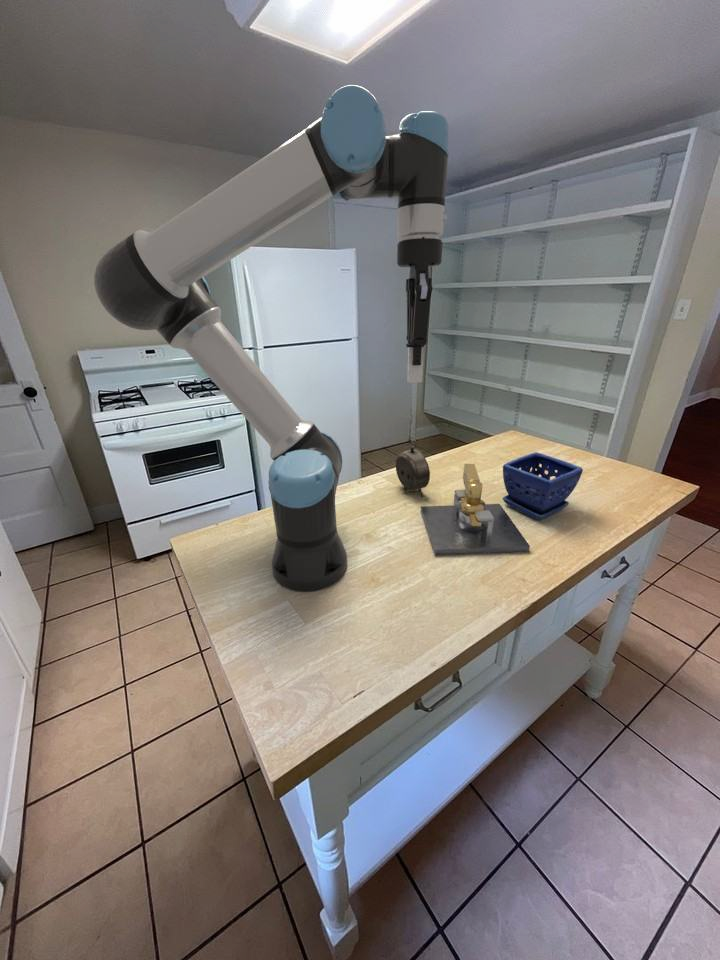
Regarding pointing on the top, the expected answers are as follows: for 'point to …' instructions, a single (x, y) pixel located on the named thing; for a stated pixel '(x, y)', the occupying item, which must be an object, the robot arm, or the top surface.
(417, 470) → the alarm clock
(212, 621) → the top surface
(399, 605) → the top surface
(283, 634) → the top surface
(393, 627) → the top surface
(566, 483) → the flower pot
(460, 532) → the socket
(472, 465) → the lever handle
